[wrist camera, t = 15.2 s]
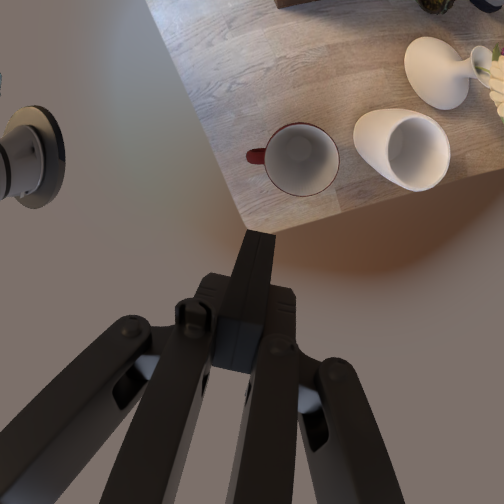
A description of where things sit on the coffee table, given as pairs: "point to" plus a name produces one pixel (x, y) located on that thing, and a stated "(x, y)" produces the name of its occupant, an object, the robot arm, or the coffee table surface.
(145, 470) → the robot arm
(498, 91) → the flower in vase
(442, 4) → the seashell
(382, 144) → the cup
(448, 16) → the coffee table surface
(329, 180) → the mug
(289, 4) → the cabinet
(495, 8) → the humidifier
